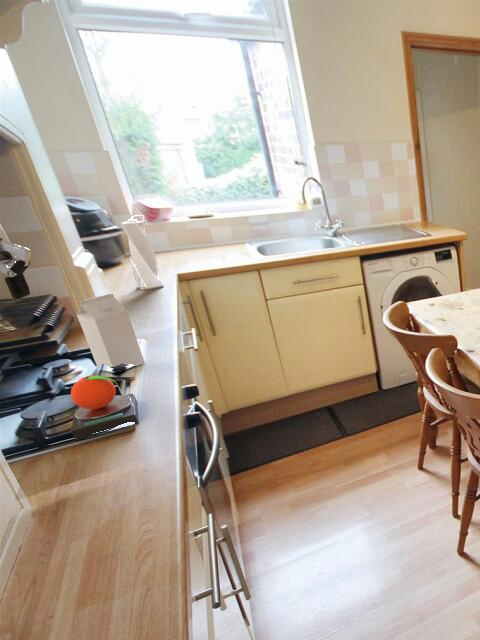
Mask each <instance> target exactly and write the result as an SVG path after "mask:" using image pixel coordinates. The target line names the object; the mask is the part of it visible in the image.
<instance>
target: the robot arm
mask: <svg viewBox="0 0 480 640" xmlns="http://www.w3.org/2000/svg"><path fill="white" fill-rule="evenodd" d="M9 238H10V237H9V236H8V235H7V233H6V232H5V229H4V228H3V227H2V224H1V223H0V272H1V273H3V274H4V275H6V276H5V277H4V280H5V284H6V286H7V288H8V290H9V292H10V295H11V297H12V298H13V299H15V300H20V299H22V298H24V297H27V296H30V294H31V290H30V287H29V284H28V282H27V280H26V278H25V275H24V274H25V273H26V272H27V269H28V268H29V266H30V265H31V257H32V250H31V249H30V248H27V247H24V246H21V245H18V244H15V243H12V242H11V240H10V239H9Z"/></svg>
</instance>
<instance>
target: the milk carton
mask: <svg viewBox="0 0 480 640" xmlns="http://www.w3.org/2000/svg"><path fill="white" fill-rule="evenodd" d="M79 304H80V307H79V309H78V311H77V314H76V317H77V320H78V321H79V325H80V328H81V330H82V332H83V334H84V337H85V340H86V342H87V344H88V347H89V350H90V352H91V354H92V358H93V360H94V362H95V366H96V367H97V368H98V367H99V366H101V365H102V364H104V365H107V366H109V367H115V366H117V365H120V364H123V363H127V364H133V365H136V367H138V366H141V365H143V364H145V363H146V362H145V359H144V355H143V353H142V350H141V348H140V345H139V342H138V339H137V336H136V334H135V331H134V327H133V325H132V322H131V318H130V316H129V313H128V310H127V309H126V308H125V307H124V306H123V305H122V304H121V302H119V300H118V299H117V298H116V297H115V296H114V293H113V292H111V293H107V294H103V295H99V296H95V297H91V298H87V299H83V300H79Z"/></svg>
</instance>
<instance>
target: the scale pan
mask: <svg viewBox="0 0 480 640" xmlns="http://www.w3.org/2000/svg"><path fill="white" fill-rule="evenodd" d="M131 404H132V401H131V398H130V397H128V396H124V395H120V394H119V395H118V394H117V395H116V394H115V397H114V399H113V400H112V401H111V402H110V403H109V404H108V405H106V406H104V407H102V408H99V409H85V408H82V407H80V408H78V409H77V410H76V412H75V417H76V419H77V420H79V421H83V422H89V421H93V420H97V419H101V418H105V417H109V416H112V415H116V414H120V413H122V412H123V411H125V410H127V409H128V408H129V407H130V406H131Z"/></svg>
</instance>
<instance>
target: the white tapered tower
mask: <svg viewBox="0 0 480 640" xmlns="http://www.w3.org/2000/svg"><path fill="white" fill-rule="evenodd" d="M139 216H140V217H141V216H142V220H138V219H137V218H134V217H139ZM145 218H146V215H145V214H141V213H139V214H138V213H137V214H134V215H133V214H132V215H131V216H130V217H129V219H127V220H123V221H121V222H120V224H121V226H122V228H123V230H124V232H125V234H126V236H127V238H128V247H129V252H130V255H129V259H130V260H129V261H130V264H131V270H132V274H133V277H134V281H135V284H136V288H137V289H139V290H140V291H143V292H145V291H149V290H155V289H160V288H163V287H165V285H164V284H163V283H162V282H161V281H160V276H159V267H158V262H157V261H158V260H157V256H156V253H155V251H154V248H153V246H152V244H151V241H150V240H149V239H148V237H147V234H146V225H145V223H146V222H145ZM141 280H142V281H141Z"/></svg>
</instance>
